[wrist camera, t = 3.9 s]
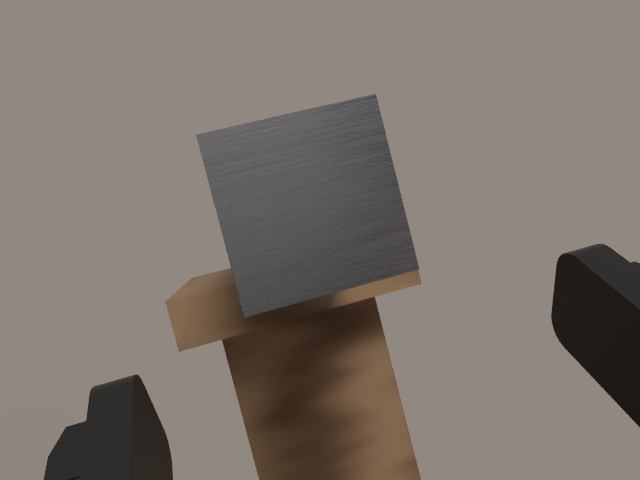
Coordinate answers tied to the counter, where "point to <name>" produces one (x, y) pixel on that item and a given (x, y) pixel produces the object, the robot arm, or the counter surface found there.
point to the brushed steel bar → (308, 203)
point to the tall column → (307, 378)
